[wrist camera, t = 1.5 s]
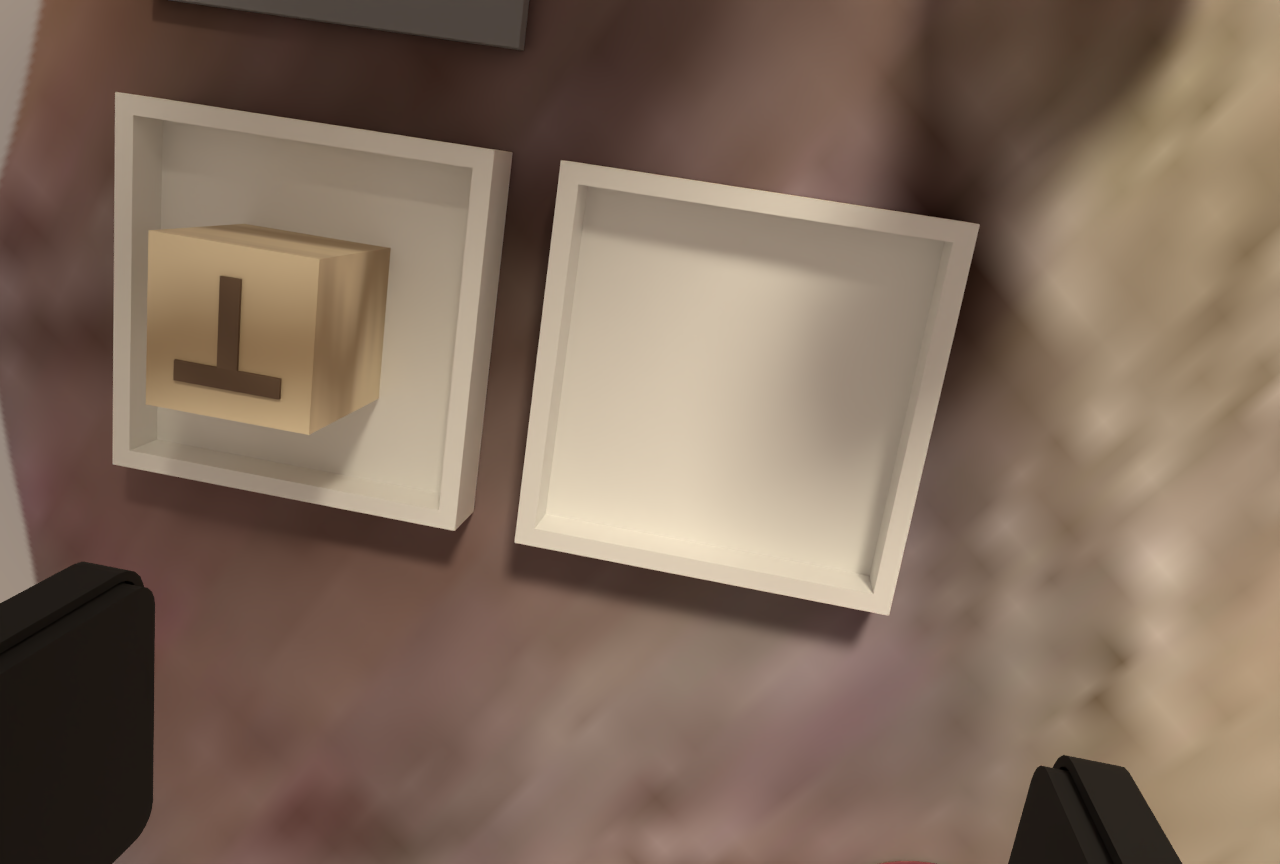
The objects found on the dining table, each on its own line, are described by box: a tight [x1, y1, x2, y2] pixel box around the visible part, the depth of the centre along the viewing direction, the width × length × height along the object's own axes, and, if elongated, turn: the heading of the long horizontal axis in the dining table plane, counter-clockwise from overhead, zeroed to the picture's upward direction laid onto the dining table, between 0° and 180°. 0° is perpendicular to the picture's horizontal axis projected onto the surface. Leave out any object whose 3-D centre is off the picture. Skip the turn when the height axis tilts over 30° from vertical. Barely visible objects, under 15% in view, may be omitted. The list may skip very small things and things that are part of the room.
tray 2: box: [514, 160, 980, 616], centre depth 31 cm, size 12×12×2 cm
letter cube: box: [146, 224, 391, 435], centre depth 30 cm, size 5×5×5 cm
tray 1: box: [113, 92, 513, 531], centre depth 32 cm, size 12×12×2 cm
